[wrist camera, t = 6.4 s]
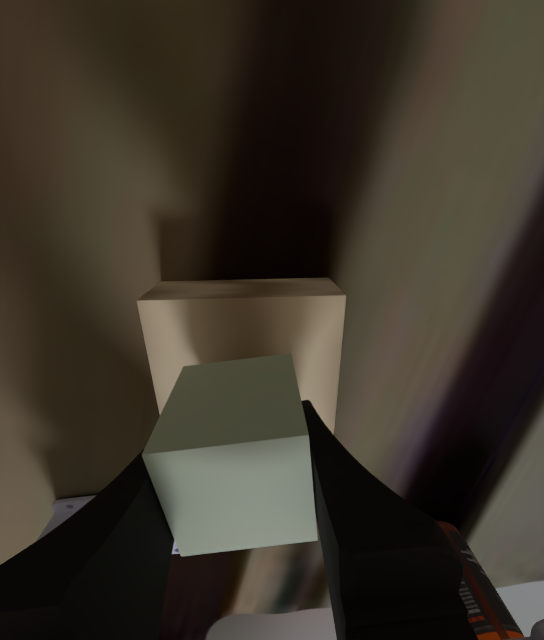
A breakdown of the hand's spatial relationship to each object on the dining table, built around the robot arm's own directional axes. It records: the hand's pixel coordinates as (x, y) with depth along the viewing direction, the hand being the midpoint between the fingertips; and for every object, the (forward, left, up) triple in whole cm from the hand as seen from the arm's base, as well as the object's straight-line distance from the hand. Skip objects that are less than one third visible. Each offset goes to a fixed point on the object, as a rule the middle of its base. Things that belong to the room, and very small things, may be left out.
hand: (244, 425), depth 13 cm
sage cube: (0, 0, -1) cm, 1 cm away
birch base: (0, 0, -7) cm, 7 cm away
